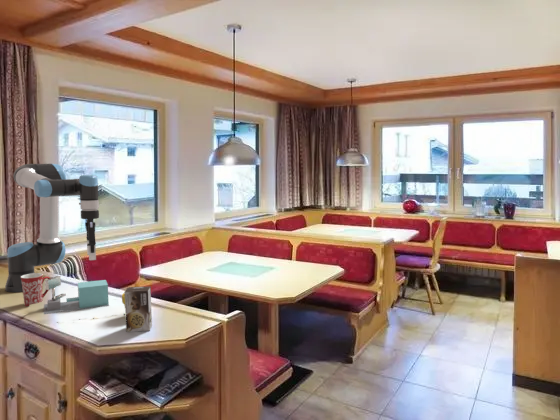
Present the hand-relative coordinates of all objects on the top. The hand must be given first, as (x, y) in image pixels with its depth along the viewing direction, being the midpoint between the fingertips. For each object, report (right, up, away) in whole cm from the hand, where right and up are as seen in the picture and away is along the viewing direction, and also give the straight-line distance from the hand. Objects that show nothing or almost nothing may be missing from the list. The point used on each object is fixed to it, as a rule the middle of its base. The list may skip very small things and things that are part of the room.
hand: (91, 257), depth 204 cm
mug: (-27, -22, +6) cm, 36 cm away
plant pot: (+24, -24, -12) cm, 36 cm away
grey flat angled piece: (-14, -18, -4) cm, 23 cm away
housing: (-6, -23, -1) cm, 23 cm away
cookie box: (+30, -25, -26) cm, 47 cm away
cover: (-2, -21, +1) cm, 21 cm away
